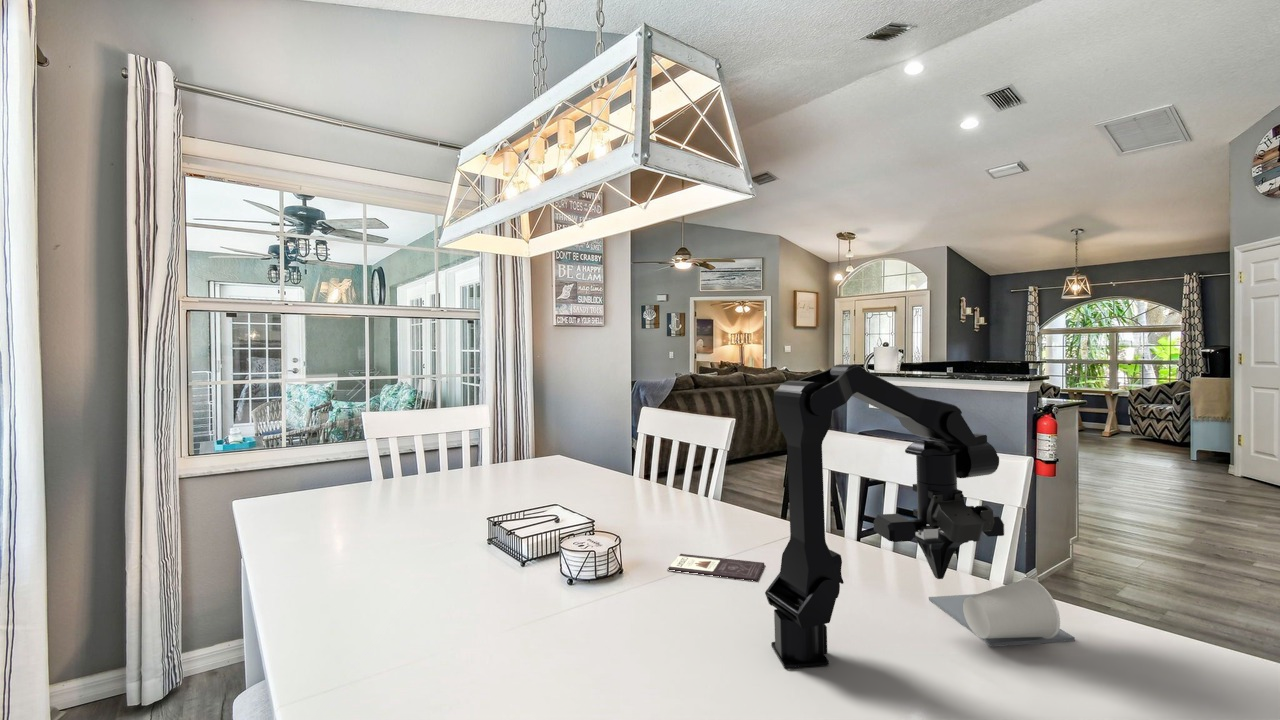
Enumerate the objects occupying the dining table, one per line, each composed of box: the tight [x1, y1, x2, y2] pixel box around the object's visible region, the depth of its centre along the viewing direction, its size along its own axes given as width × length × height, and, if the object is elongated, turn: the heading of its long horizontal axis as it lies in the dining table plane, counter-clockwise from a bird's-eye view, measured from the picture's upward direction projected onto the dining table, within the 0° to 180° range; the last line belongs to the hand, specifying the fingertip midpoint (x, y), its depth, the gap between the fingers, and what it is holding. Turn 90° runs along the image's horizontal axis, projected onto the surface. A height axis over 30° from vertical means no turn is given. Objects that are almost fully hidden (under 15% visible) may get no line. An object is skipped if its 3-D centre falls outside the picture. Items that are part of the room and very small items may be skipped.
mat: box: [928, 593, 1076, 647], centre depth 93 cm, size 13×16×1 cm
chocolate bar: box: [667, 553, 765, 582], centre depth 118 cm, size 9×1×18 cm
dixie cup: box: [963, 577, 1061, 639], centre depth 85 cm, size 8×8×10 cm
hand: (938, 578), depth 92 cm, fingers closed
